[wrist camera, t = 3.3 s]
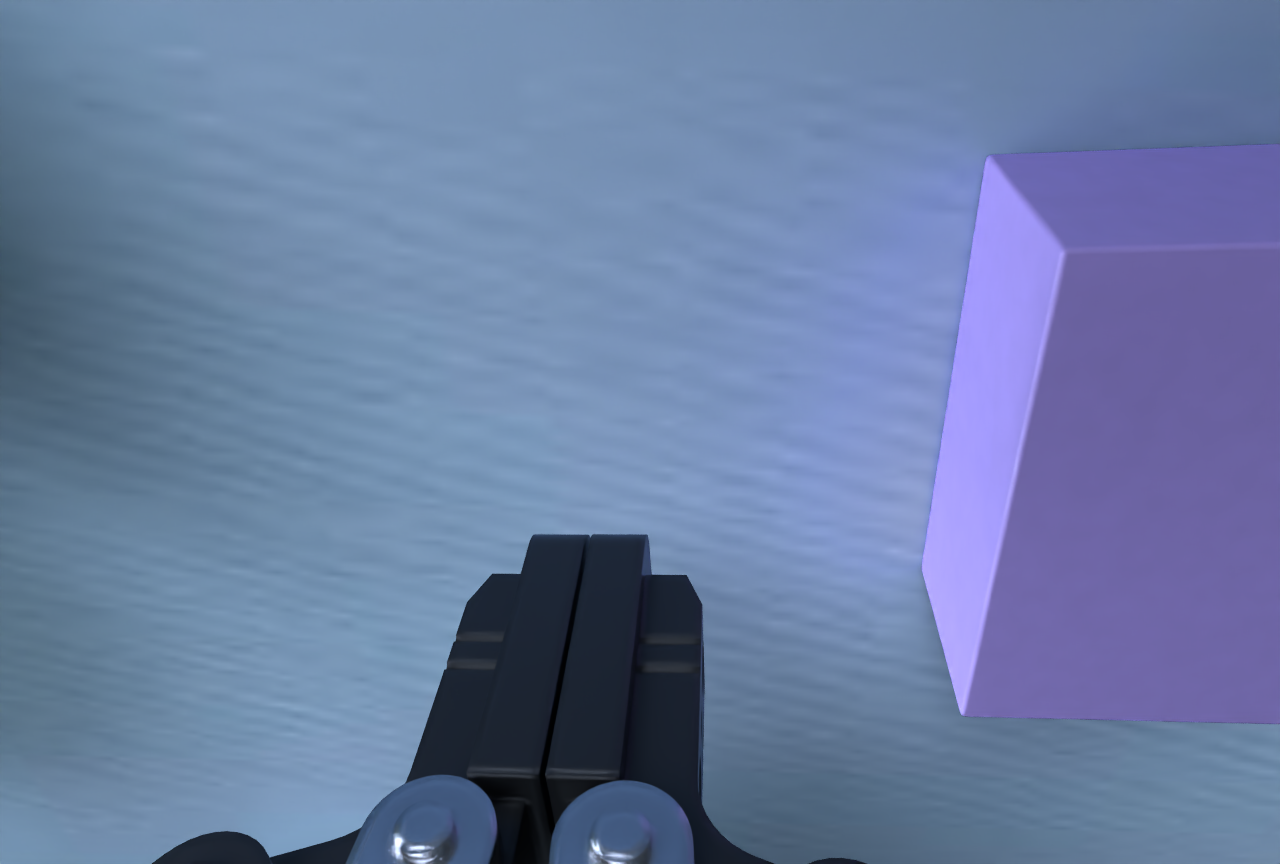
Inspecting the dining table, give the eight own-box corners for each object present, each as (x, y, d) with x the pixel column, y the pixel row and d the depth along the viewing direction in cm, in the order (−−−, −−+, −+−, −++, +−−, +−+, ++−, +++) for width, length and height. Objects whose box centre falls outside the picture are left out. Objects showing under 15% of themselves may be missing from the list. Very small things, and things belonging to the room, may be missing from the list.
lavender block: (985, 153, 13) (1062, 249, 10) (1361, 138, 12) (1562, 235, 9) (920, 568, 17) (960, 718, 14) (1193, 570, 17) (1292, 726, 14)
